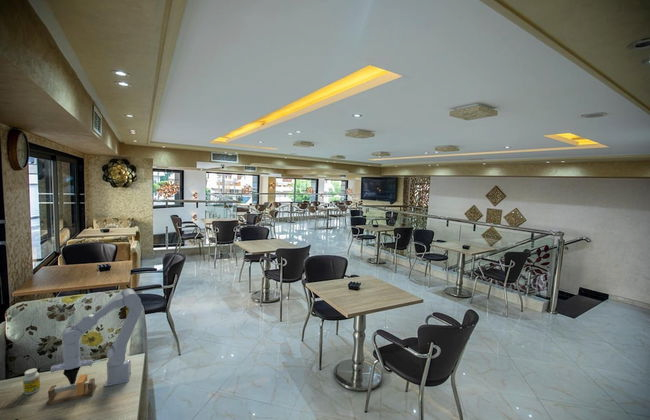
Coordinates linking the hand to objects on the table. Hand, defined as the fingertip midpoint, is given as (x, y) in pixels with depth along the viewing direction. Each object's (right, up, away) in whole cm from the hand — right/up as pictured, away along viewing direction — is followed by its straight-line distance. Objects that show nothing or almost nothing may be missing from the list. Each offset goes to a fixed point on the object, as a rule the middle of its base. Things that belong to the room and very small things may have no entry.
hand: (73, 382), depth 135 cm
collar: (+3, -5, +2) cm, 6 cm away
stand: (-1, -6, +1) cm, 6 cm away
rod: (0, -3, 0) cm, 3 cm away
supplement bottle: (-21, -5, +2) cm, 21 cm away
